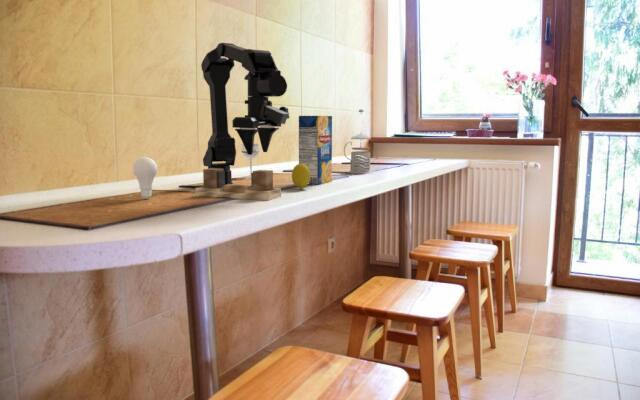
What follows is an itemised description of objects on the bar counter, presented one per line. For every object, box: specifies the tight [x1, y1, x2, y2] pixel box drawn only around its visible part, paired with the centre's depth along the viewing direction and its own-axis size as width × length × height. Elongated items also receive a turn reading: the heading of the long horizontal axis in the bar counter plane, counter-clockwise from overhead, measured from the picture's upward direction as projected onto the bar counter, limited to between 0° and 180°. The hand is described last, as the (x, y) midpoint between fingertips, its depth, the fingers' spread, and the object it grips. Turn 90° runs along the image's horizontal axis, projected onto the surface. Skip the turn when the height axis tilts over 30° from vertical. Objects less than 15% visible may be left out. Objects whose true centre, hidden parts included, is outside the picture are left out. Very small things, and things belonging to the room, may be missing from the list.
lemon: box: [291, 162, 310, 190], centre depth 164 cm, size 6×6×8 cm
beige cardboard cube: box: [250, 169, 274, 191], centre depth 146 cm, size 5×4×6 cm
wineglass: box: [240, 143, 261, 179], centre depth 198 cm, size 7×7×12 cm
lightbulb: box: [132, 156, 158, 200], centre depth 143 cm, size 6×6×11 cm
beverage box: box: [298, 115, 333, 186], centre depth 181 cm, size 7×11×22 cm, turn 154°
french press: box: [343, 108, 373, 175], centre depth 218 cm, size 10×12×25 cm
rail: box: [194, 168, 282, 201], centre depth 148 cm, size 22×8×7 cm, turn 70°
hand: (257, 153), depth 154 cm, fingers open, 9 cm apart
